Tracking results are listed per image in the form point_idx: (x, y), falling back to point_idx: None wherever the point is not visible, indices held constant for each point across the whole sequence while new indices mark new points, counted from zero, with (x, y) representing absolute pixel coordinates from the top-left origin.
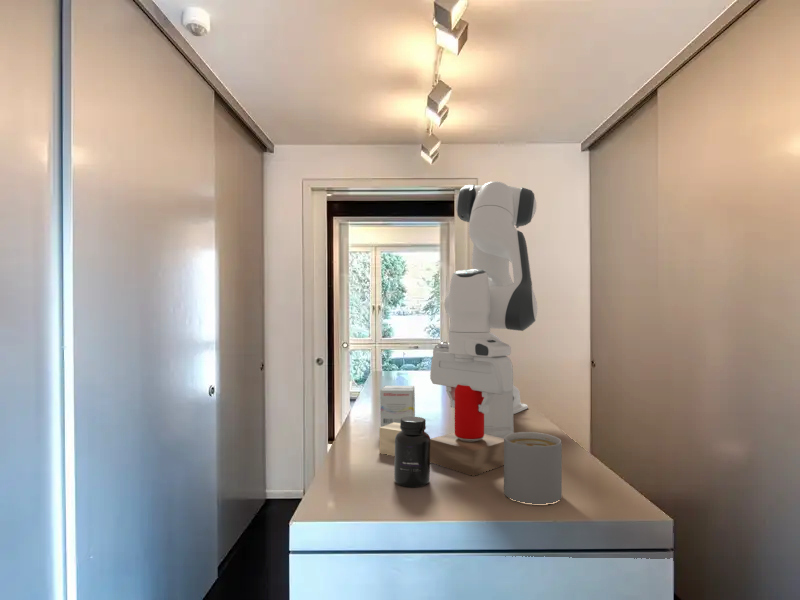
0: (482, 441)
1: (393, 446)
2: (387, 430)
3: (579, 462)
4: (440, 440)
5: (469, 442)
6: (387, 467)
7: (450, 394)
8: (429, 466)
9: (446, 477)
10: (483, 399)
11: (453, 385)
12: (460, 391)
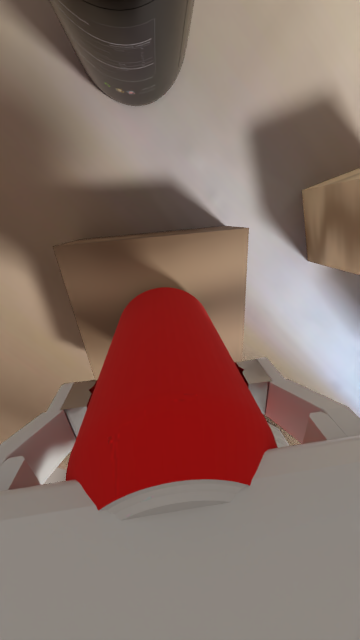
0: None
1: (351, 174)
2: None
3: None
4: (211, 244)
5: None
6: (279, 79)
7: (300, 398)
8: (70, 40)
9: (108, 172)
10: (21, 441)
11: (299, 455)
12: (162, 408)
